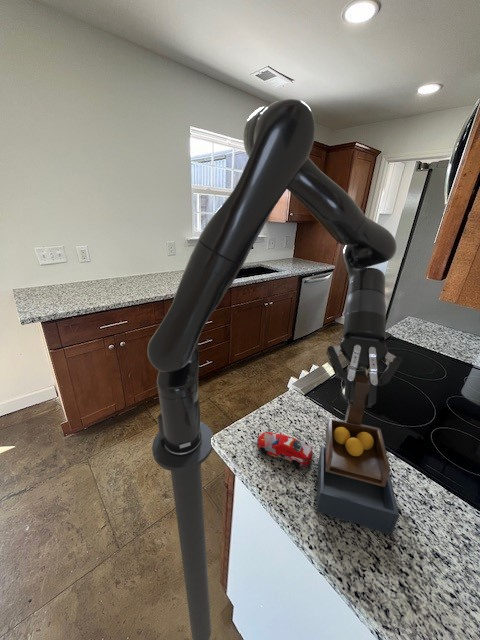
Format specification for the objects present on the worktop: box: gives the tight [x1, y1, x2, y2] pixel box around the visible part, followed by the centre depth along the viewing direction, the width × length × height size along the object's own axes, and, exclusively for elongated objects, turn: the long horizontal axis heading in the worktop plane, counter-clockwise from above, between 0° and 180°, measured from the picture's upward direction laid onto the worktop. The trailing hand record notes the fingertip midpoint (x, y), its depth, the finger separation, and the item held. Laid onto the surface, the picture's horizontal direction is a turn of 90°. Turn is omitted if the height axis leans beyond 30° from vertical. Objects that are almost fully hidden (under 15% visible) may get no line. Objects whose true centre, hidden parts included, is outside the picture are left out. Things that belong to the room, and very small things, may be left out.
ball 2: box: [345, 438, 364, 456], centre depth 47 cm, size 3×3×3 cm
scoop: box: [325, 374, 391, 487], centre depth 46 cm, size 11×9×13 cm
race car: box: [256, 431, 313, 468], centre depth 63 cm, size 13×5×4 cm, turn 63°
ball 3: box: [356, 432, 374, 450], centre depth 48 cm, size 3×3×3 cm
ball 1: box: [333, 427, 350, 444], centre depth 50 cm, size 3×3×3 cm
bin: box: [316, 445, 400, 535], centre depth 53 cm, size 13×11×6 cm
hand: (359, 404), depth 47 cm, fingers closed on scoop, 2 cm apart
